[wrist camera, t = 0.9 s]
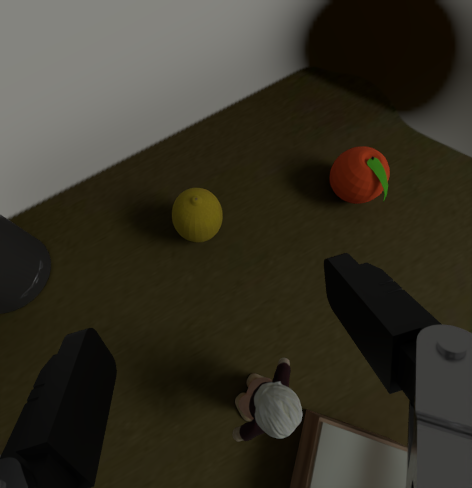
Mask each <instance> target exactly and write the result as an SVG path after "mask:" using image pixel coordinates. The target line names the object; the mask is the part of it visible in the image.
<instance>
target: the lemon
mask: <svg viewBox="0 0 472 488" xmlns="http://www.w3.org/2000/svg"><path fill="white" fill-rule="evenodd" d="M172 221H173V224H174V227H175V229H176V231H177V232H178V233H179V234H180V235H181V236H182V237H183V238H184V239H186V240H188V241H191V242H204V241H207V240H209V239H211V238H212V237H213V236H214V235H215V234H216V233H217V232H218V230H219V229H220V227H221V223H222V209H221V206H220V203H219V201H218V200H217V198H216V197H215V196H214V195H213V194H212V193H211V192H209V191H208V190H206V189H202V188H191V189H188V190H185V191H184V192H182V193H181V194H180V195H179V196H178V197H177V198H176V200H175V202H174V205H173V209H172Z"/></svg>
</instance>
